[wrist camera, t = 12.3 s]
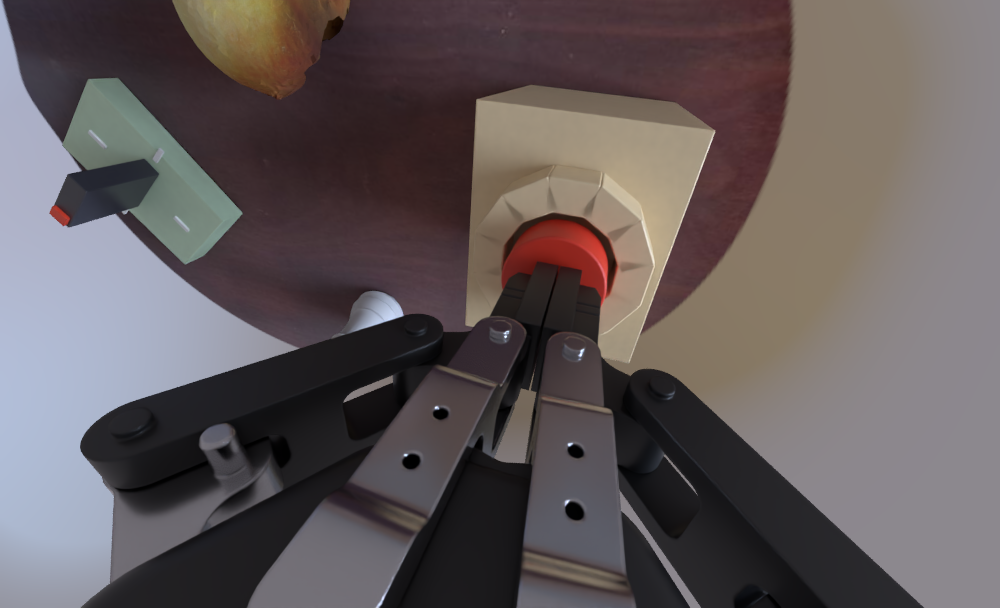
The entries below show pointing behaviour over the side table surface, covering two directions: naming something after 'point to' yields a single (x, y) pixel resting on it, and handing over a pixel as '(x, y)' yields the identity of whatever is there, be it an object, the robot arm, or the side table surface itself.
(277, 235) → the side table surface
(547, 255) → the red push button
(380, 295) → the rook chess piece
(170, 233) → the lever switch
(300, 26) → the fruit
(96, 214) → the black box
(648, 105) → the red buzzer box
